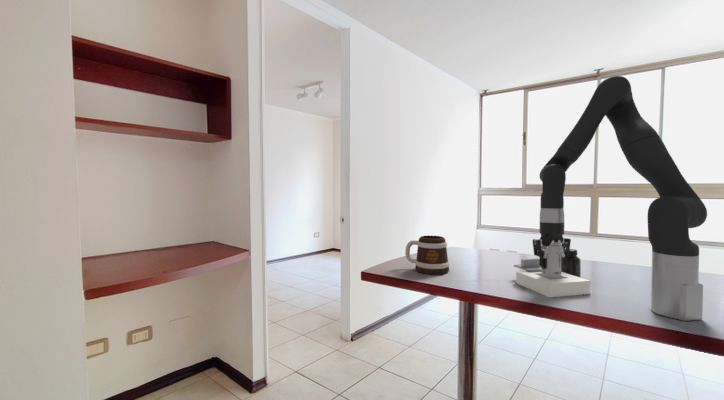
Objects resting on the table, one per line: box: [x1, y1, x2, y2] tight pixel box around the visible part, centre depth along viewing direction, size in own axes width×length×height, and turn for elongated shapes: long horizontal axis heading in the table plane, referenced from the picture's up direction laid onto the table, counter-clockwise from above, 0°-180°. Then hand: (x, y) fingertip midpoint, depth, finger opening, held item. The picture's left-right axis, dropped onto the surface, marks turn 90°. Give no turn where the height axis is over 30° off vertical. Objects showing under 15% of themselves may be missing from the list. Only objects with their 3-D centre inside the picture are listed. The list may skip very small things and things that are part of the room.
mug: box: [404, 235, 451, 276], centre depth 137 cm, size 20×15×15 cm
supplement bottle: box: [561, 248, 582, 278], centre depth 119 cm, size 7×7×12 cm
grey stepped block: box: [513, 257, 542, 272], centre depth 119 cm, size 8×8×4 cm
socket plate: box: [515, 270, 591, 298], centre depth 110 cm, size 16×16×4 cm
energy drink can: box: [542, 242, 562, 279], centre depth 110 cm, size 6×6×15 cm
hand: (551, 267), depth 110 cm, fingers closed on energy drink can, 6 cm apart
